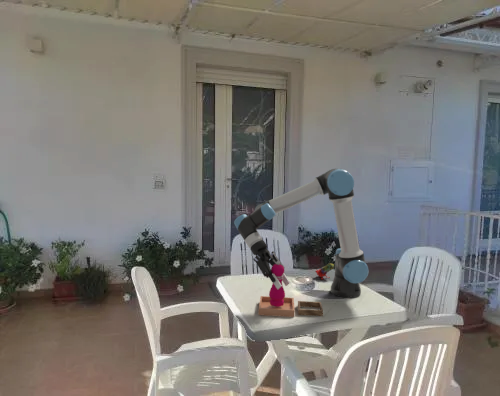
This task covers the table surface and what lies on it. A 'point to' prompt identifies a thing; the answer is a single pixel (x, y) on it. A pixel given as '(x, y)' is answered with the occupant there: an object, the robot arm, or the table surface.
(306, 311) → the small wooden tray
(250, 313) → the table surface
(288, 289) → the table surface
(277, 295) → the pepper mill
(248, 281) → the table surface
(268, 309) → the terracotta tray
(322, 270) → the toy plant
